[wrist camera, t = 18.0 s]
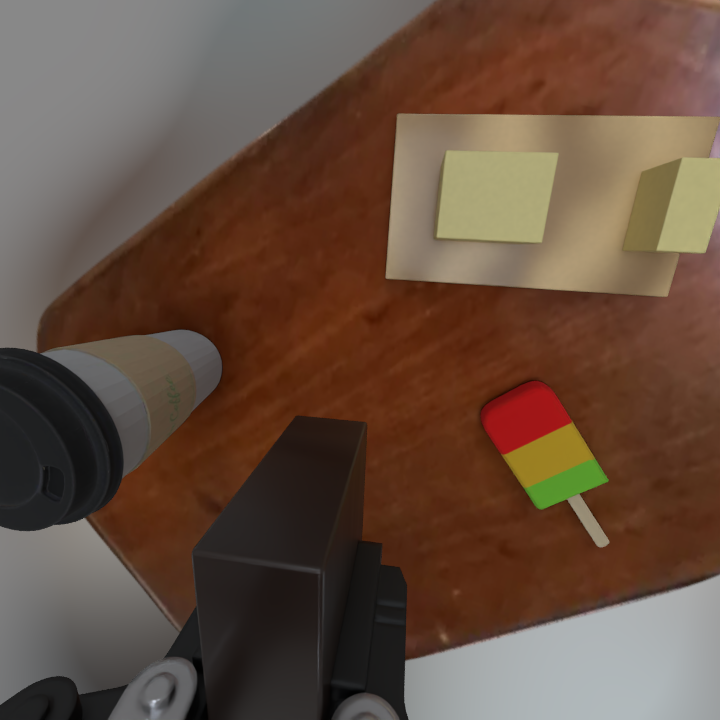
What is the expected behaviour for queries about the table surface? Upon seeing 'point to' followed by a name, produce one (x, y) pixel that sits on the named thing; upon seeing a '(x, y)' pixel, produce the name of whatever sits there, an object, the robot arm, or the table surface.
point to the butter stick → (494, 196)
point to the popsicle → (544, 450)
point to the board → (566, 208)
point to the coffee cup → (91, 419)
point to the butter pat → (675, 207)
